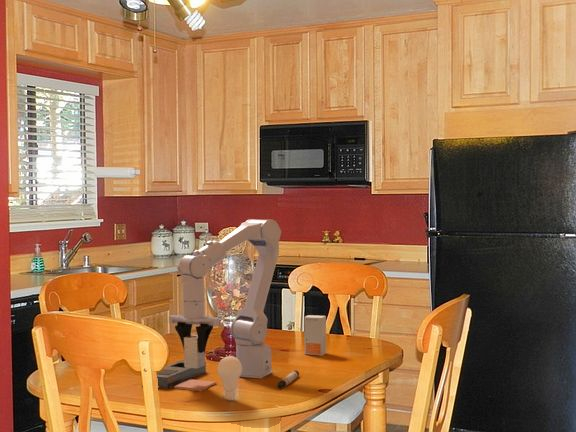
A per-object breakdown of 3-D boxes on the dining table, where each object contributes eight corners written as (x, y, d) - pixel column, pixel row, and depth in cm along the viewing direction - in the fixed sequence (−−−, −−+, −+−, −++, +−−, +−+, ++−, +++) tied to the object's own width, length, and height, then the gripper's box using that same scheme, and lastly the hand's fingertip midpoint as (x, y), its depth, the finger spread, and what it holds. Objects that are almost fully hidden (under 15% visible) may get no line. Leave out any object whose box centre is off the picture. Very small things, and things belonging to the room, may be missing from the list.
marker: (292, 377, 219) (292, 370, 219) (299, 377, 219) (299, 370, 218) (274, 390, 205) (274, 383, 205) (281, 391, 204) (281, 383, 204)
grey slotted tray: (205, 372, 225) (205, 361, 225) (167, 388, 207) (167, 377, 207) (182, 370, 229) (181, 359, 229) (142, 386, 210) (141, 374, 210)
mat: (215, 384, 211) (215, 381, 211) (200, 391, 204) (200, 388, 204) (190, 381, 215) (190, 379, 215) (174, 388, 208) (174, 386, 207)
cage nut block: (205, 365, 210) (204, 335, 210) (197, 368, 207) (197, 337, 206) (192, 364, 212) (191, 334, 212) (184, 367, 208) (183, 336, 208)
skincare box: (304, 354, 247) (303, 316, 247) (308, 352, 251) (308, 314, 251) (322, 356, 245) (321, 317, 245) (326, 353, 249) (326, 315, 249)
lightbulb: (218, 397, 198) (217, 354, 197) (242, 396, 198) (241, 353, 198) (217, 404, 192) (217, 359, 191) (243, 403, 192) (242, 358, 192)
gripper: (162, 301, 208) (163, 352, 209) (209, 303, 202) (210, 356, 203) (176, 297, 214) (177, 347, 215) (223, 300, 209) (224, 351, 209)
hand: (194, 351), depth 209 cm, fingers closed on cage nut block, 4 cm apart
